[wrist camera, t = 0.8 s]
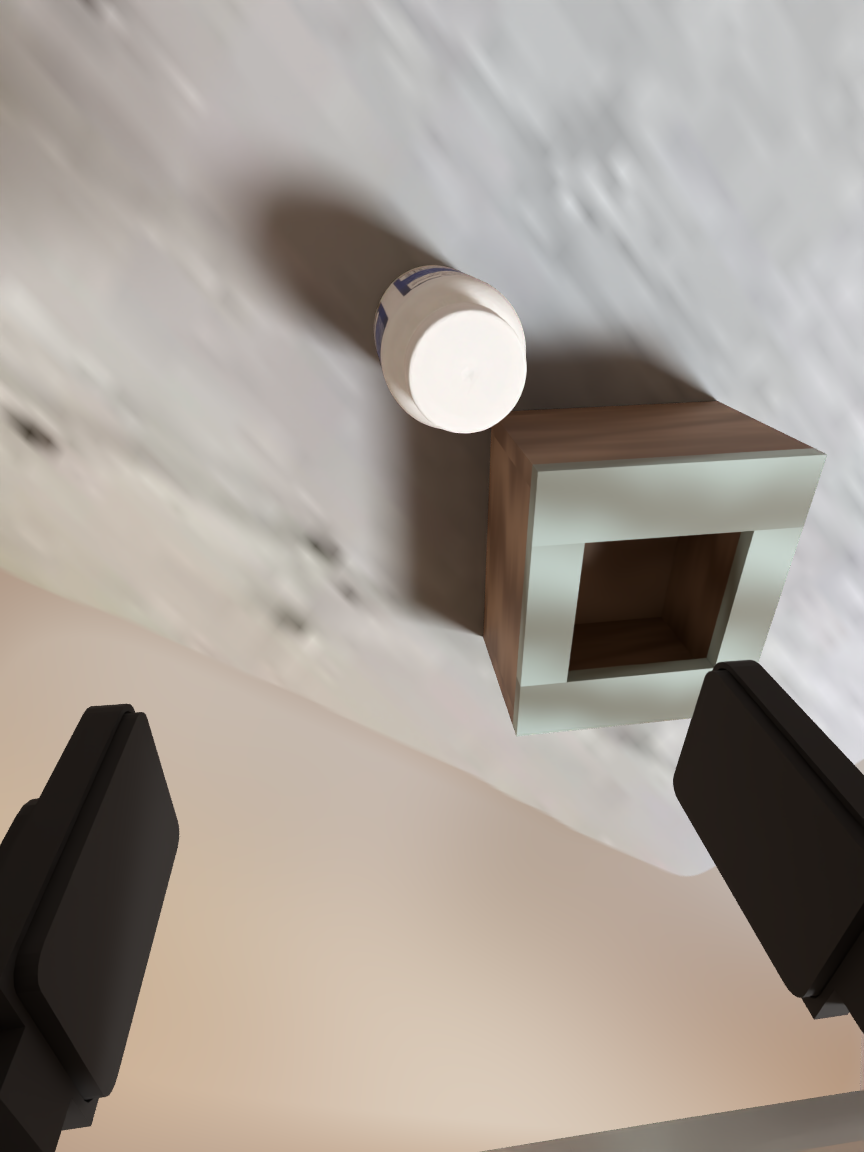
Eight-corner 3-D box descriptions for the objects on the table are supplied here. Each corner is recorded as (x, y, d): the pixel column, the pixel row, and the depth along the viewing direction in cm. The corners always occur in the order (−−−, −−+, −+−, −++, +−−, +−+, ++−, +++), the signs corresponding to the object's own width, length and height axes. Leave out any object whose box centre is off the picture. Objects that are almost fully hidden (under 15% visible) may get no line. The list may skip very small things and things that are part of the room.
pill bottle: (443, 409, 30) (481, 482, 22) (350, 344, 28) (354, 397, 20) (511, 313, 28) (582, 353, 20) (417, 235, 26) (453, 243, 18)
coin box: (491, 412, 30) (537, 471, 23) (717, 401, 32) (827, 454, 24) (483, 637, 38) (516, 736, 30) (667, 621, 39) (741, 712, 32)
